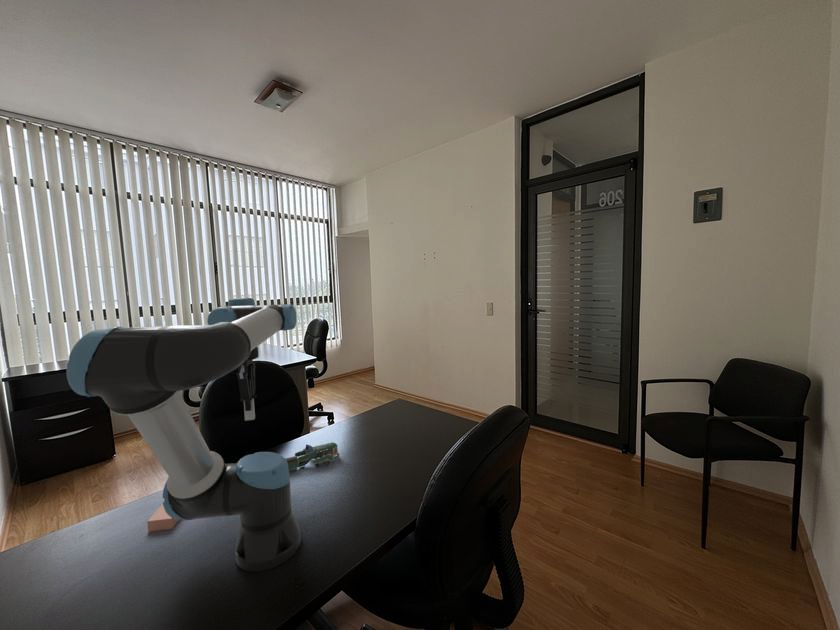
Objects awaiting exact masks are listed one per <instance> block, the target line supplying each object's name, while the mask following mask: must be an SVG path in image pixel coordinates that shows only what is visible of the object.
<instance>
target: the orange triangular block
mask: <svg viewBox="0 0 840 630" xmlns="http://www.w3.org/2000/svg"><path fill="white" fill-rule="evenodd" d="M180 520H181V519H174V518H171V517H170V516H169V515H168V514H167V513H166V511H165V509H164V506H163V504H162V505H161V506H159V508H158V509H157V510H156V511H155V512H154V513H153V514H152V515H151V516H150V517H149V519H148V520H147V522H146V523H147V530H148V531H147V532H157V531H164V530H166V531H167V530H171V529H174V527H175V526H176V525H177V524H178V522H179V521H180Z"/></svg>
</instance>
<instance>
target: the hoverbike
mask: <svg viewBox="0 0 840 630" xmlns="http://www.w3.org/2000/svg"><path fill="white" fill-rule="evenodd" d="M338 446H339V445H338V444H337V443H335V442H333V441H331V442H328V443H324V444H320V445H316V446H315V445H314V446H313V445H310V444H305V448H302V450H300V451H297V452H295V453H294V456H290V457H286V458H285V457H284V458H285V459H286V460H287V463H288V469H289V474H290V475H291V474H292V473H295V472H296V471H297V469H298V468H299V469H304V468H305V467H306V465H307V464H309V463H310V462H311V461H312V464H314V468H315V469H318V468H320V464H324V463H325V464H326V466H330V464H331V462H333V461H336V460H337V459H338V458H340V453H339V450H338ZM334 458H335V459H334Z"/></svg>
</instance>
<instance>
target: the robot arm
mask: <svg viewBox="0 0 840 630" xmlns="http://www.w3.org/2000/svg"><path fill="white" fill-rule="evenodd" d="M227 302H228V303H227V305H226V306H225V305H223V306H219V307H216V308H214V309H212V310H211V311H210V312H209V314H208V316H207V321H206V322H207V324H204V325H202V324H201V325H199V324H198V325H194V324H192V325H190V324H189V325H188V324H187V325H185V324H183V325H181V324H180V325H178V324H177V325H164V326H163V325H160V326H159V325H158V326H139V327H137V326H136V327H133V326H132V327H122V326H114V327H111V328H109V327H108V328H99V329H95V330H91V331H90V332H87V333H86V334H84V335H83V336H82V337H81V338H79V339H78V341H77V342H76V343H75V344H74V346H73V347H72V349H71V350H70V353H69V355H68V362H67V363H66V379H67V382H68V385H69V386H70V388H71V390H72V391H73V392H74V393H76V394H77V395H79V396H85V397H87V398H91V397H93V398H94V397H100V398H102V400H103V402H104V403H105V404H106V406H108V407H107V408H109V410H110V411H111V412H112V413H114V414H116V415H120V416H128V418H129V420H130V421H131V422H132V424H133V425H134V427H135V428H136V430H137V431H138V433H139V434H140V435H141V438H142V439H143V440H144V442H145V443H146V445H147V446H148V447H149V449H150V450H151V452H152V454H153V455H154V456H155V458H156V459H157V461H158V462H159V463H160V465H161V467H162V468H163V470H164V471H165V473H166V475H167V476H168V477H167V478H166V481H165V483H164V486H163V490H162V499H163V502H162V505H163V506H164V509H165V511H166V513H167V514H168V515H169V516H170V517H171V518H174V519H180V520H183V521H192V520H197V519H207V518H208V519H210V518H219V517H229V516H239V518H240V529H239V532H238V536H237V540H236V544H235V549H234V554H235V555H234V556H235V563H236V565H237V567H238V568H240V569H241V570H244V571H246V572H251V573H257V572H264V571H268V570H271V569H274V568H276V567H278V566H280V565H281V564H284V563H285V562H287V561H288V560H289V559H290V558H291V557H292V556H294V554H295V553H296V552H297V551H298V549H299V547H300V545H301V543H302V542H301V540H302V539H301V538H302V537H301V529H300V525H299V524H298V521H297V520H296V518H295V515H294V514H293V512H292V511H293V509H292V496H291V494H292V493H291V474H290V472H289V469H288V463H287V460H286V459H285V457H284V456H283V455H282V454H280V453H276V452H271V451H258V452H254V453H250V454H247V455H244V456H243V457H242V458H240V459H239V460H238V461H237V462H235V463H225V461H224V459H223V457H222V455H220V454H219V453H217V452H216V451H213V450H210V449H209V446H208V444H207V443H206V441H205V439H204V437H203V435H202V433H201V432H200V430H199V428H198V426H197V424H196V421H195V420H194V418H193V416H192V414H191V412H190V410H189V408H188V407H187V405H186V403H185V401H184V399H183V397H182V395H181V393H180V391H187V390H191V389H195V388H197V387H201V386H204V385H206V384H209V383H211V382H213V381H215V380H218V379H220V378H222V377H225V375H228V374H229V373H231V372H233V371H235V370H237V371H238V372H236V377H237V378H236V379H237V381H238V382H237V383H238V388H239V395H240V402H243V412H244V421H246V422H247V421H253V420H254V421H255V419H256V412H255V398H257V394H256V363H254V361H253V360H256V359H258V358H259V356H260V354H259V346H260V345H261V344H263V343H264V342H265V341H267V340H268V339H269V338H271V337H272V336H273V335H275V334H277V332H279V331H291V330H294V329H295V327H296V325H297V310H296V307H295V306H294V305H293V304H288V303H286V304H284V303H280V304H264V305H263V304H262V305H261V304H260V305H258V304H256V301H255V299H254V298H253V297H239V298H238V297H236V298H230V299H228V301H227Z"/></svg>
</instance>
